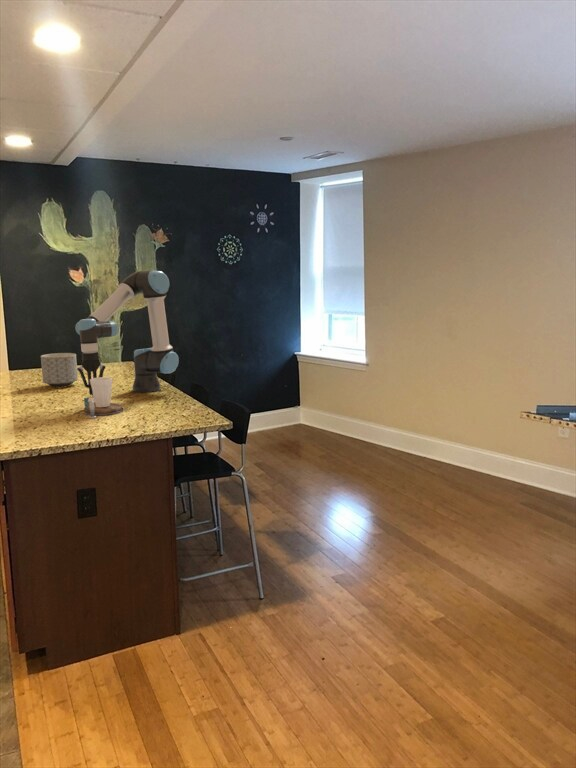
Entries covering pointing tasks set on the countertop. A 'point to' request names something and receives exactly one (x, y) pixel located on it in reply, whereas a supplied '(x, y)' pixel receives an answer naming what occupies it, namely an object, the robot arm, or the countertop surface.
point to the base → (104, 413)
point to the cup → (101, 390)
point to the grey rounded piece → (92, 407)
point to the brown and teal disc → (100, 410)
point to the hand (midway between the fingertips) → (94, 401)
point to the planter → (59, 369)
